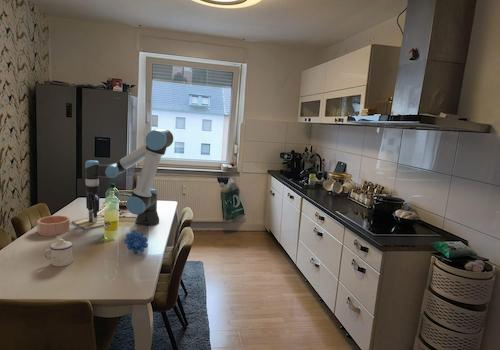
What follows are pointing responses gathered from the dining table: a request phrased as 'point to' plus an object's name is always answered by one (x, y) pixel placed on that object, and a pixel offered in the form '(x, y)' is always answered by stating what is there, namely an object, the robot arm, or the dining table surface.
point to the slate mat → (83, 229)
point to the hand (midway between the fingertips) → (93, 220)
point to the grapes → (136, 241)
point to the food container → (124, 196)
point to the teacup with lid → (60, 253)
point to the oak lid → (89, 222)
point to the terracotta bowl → (53, 225)
